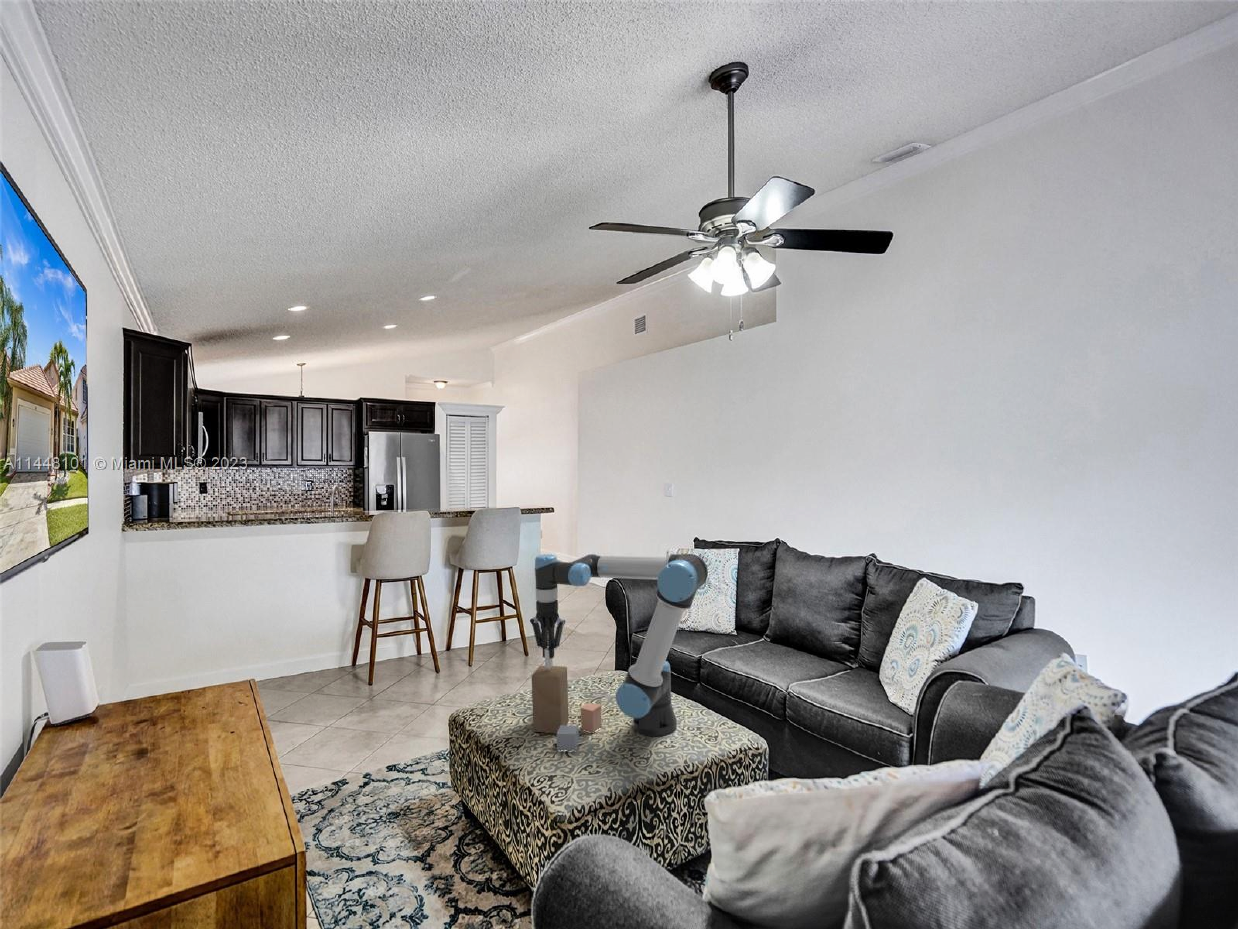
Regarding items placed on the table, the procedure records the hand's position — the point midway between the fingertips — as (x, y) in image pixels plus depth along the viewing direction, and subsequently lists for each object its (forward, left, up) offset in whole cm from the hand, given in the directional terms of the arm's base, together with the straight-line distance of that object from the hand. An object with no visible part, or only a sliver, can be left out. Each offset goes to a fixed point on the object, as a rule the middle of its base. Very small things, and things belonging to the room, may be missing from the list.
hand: (548, 666), depth 220 cm
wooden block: (0, 0, -22) cm, 22 cm away
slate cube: (-12, +11, -22) cm, 27 cm away
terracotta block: (-14, -3, -21) cm, 26 cm away
